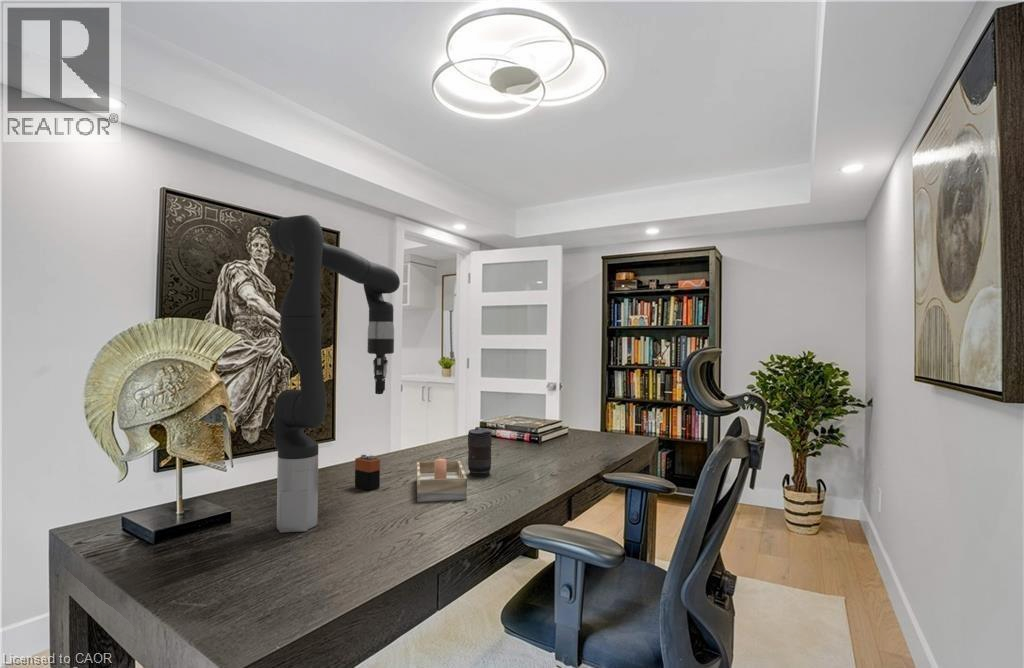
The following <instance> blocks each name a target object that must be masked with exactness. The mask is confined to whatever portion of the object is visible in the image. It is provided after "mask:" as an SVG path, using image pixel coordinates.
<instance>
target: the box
mask: <svg viewBox="0 0 1024 668" xmlns="http://www.w3.org/2000/svg"><path fill="white" fill-rule="evenodd" d="M434 469H435V460H434V461H433V460H432V461H416V497H417V498H416V500H417V501H416V502H417V503H420V502H423V503H424V502H440V501H457V500H459V501H460V500H467V499H468V495H467V494H468V493H467V492H468V477H467V476H466V472H465V470H464V466H463V464H462V461H461V460H446V479H434Z"/></svg>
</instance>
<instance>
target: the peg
mask: <svg viewBox="0 0 1024 668" xmlns="http://www.w3.org/2000/svg"><path fill="white" fill-rule="evenodd" d="M434 461H435V469H434V479H446V461H447V459H446V458H435V459H434Z"/></svg>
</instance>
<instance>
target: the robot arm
mask: <svg viewBox="0 0 1024 668" xmlns="http://www.w3.org/2000/svg"><path fill="white" fill-rule="evenodd" d="M268 234H269V235H268V236H269V240H270V243H271V245H272V246H273V247H274V248H275V250H276V251H278V253H280V254H283V255H286V256H291V257H293V273H292V279H291V281H290V284H289V286H288V287H287V290H286V293H285V295H284V298H283V300H282V303H281V306H280V311H279V312H280V315H279V316H280V318H279V321H280V326H279V327H280V337H281V340H282V342H283V344H284V347H285V349H286V350H287V352H288V354H289V355H290V357H291V359H292V360H293V362H294V364H295V366H296V368H297V371H298V374H299V375H298V376H299V381H300V382H299V383H300V385H299V386H300V389H296V388H295V389H294V388H293V389H292V388H290V389H285V390H282V391H281V392H280V393H279V394H278V395H277V397H276V399H275V402H274V405H273V432H274V433H273V434H274V445H275V448H276V449H277V471H276V472H277V475H276V476H277V477H276V479H277V480H276V481H277V482H276V483H277V485H276V529H277V530H278V531H279V533H281V534H282V533H294V532H296V533H297V532H307V531H309V530H310V529H312V528H314V527H316V526H317V525H318V516H319V515H318V507H319V506H318V501H319V499H318V498H319V497H318V496H319V495H318V493H319V492H318V491H319V443H318V441H316V440H314V439H313V438H311V437H310V436H308V435H307V434H306V432H305V431H304V429H316V428H318V427H320V426H321V425H322V424H323V422H324V420H325V419H326V414H327V413H326V412H327V395H326V385H325V378H324V371H323V356H322V355H323V354H322V352H323V351H322V308H321V307H322V306H321V285H322V284H321V283H322V282H321V281H322V280H321V277H322V276H321V275H322V267H323V268H325V269H328V270H330V271H332V272H335V273H337V274H338V275H341V276H343V277H344V278H347V279H349V280H351V281H353V282H355V283H357V284H361V285H363V290H364V294H365V298H366V302H367V305H368V326H367V353H368V354H369V355H371V354H372V355H375V357H374V359H373V362H372V365H373V375H374V376H373V379H374V382H375V388H374V389H375V390H374V392H375V394H376V395H383V394H384V392H385V391H386V378H387V373H388V363H389V361H388V359H387V357H386V355H388V354H389V355H390V354H391V355H392V354H394V352H395V327H394V304H393V303H391V302H388V301H385V299H384V296H383V294H392V293H395V292H396V291H397V290H398V289H399V288H400V284H401V281H400V277H399V275H398V274H397V272H396V271H395V270H393V269H392V268H390V267H387V266H385V265H382V264H379V263H375V262H371V261H370V260H368V259H366V258H365V257H363V256H361V255H360V254H358V253H356V252H353V251H352V250H348V249H345V248H342V247H339V246H335V245H332V244H329V243H327V242H324V233H323V229H322V226H321V224H320V222H319V220H317V218H315V217H314V216H312V215H310V214H309V215H308V214H303V215H302V214H301V215H293V216H286V217H281V218H279V219H276V220H275V221H274V222H273V223H272V224H271V225H270V227H269V231H268Z"/></svg>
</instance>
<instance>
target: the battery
mask: <svg viewBox="0 0 1024 668" xmlns="http://www.w3.org/2000/svg"><path fill="white" fill-rule="evenodd" d="M380 469H381V459H380V458H378V457H376V456H375V455H368V456H367V454H361V455H360V457H357V458H355V459H354V487H355V488H356V489H360V490H364V491H368V492H370V491H373V490H376V489H380V487H381V485H380V483H381V476H380V475H381V473H380V472H381V470H380Z"/></svg>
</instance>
